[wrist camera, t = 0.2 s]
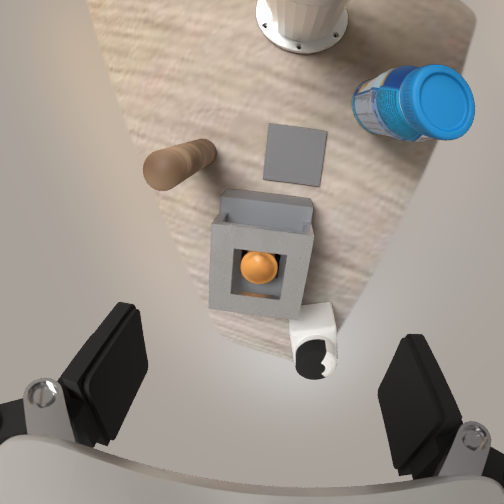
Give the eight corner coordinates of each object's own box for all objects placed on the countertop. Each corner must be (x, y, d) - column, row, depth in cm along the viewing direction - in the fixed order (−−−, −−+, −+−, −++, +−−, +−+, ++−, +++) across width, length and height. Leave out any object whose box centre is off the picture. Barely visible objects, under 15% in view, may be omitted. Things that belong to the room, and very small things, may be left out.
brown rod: (189, 138, 42) (143, 149, 27) (217, 139, 42) (182, 151, 27) (188, 165, 44) (142, 189, 29) (215, 167, 43) (180, 192, 29)
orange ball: (246, 233, 44) (241, 248, 39) (280, 237, 44) (279, 253, 39) (243, 263, 46) (239, 281, 41) (276, 267, 46) (275, 286, 41)
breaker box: (227, 188, 44) (220, 196, 40) (310, 198, 44) (313, 207, 39) (221, 284, 51) (215, 300, 47) (293, 293, 51) (294, 310, 46)
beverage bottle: (341, 121, 39) (388, 122, 21) (360, 68, 35) (417, 35, 17) (394, 144, 39) (467, 167, 21) (412, 94, 36) (492, 86, 18)
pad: (268, 123, 40) (268, 123, 40) (326, 131, 40) (326, 131, 39) (263, 178, 43) (262, 179, 43) (318, 185, 43) (319, 186, 43)
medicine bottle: (293, 338, 54) (294, 387, 43) (288, 306, 52) (289, 354, 41) (333, 333, 53) (341, 381, 42) (331, 300, 50) (341, 347, 40)
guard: (219, 211, 41) (211, 223, 36) (310, 222, 40) (314, 236, 36) (215, 289, 46) (208, 308, 41) (296, 299, 45) (297, 320, 41)
